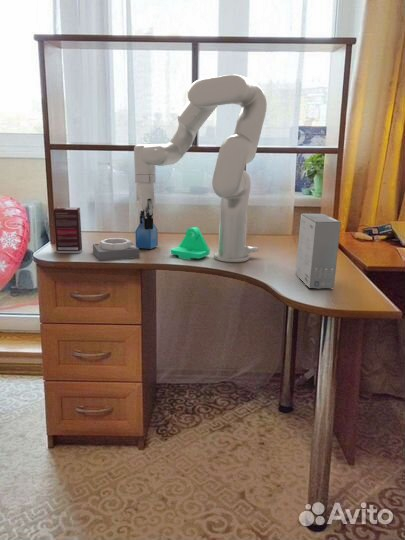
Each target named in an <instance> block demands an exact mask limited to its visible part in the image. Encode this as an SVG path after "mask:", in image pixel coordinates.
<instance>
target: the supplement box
mask: <svg viewBox="0 0 405 540" xmlns="http://www.w3.org/2000/svg"><path fill="white" fill-rule="evenodd" d="M52 210H53V223H54V236H55V252H56V254H81V252H82V251H83V242H82V241H83V240H82V222H81V221H82V220H81V208H80V207H61V206H60V207H55V208H53V209H52Z"/></svg>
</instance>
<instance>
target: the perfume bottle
mask: <svg viewBox="0 0 405 540" xmlns="http://www.w3.org/2000/svg"><path fill="white" fill-rule="evenodd" d="M144 219H145V214H144V215H142V221H143V223H142V224H140V223H139V224H138V226H137V228H136V230H134V231H135V246H136V247H137V248H138V249H150V250H151V249H154V248H156V247H157V246H159V241H158V240H159V238H158V237H159V236H158V233H159V231H158V230H159V229H158V228H157V227H156V225H155V224H154V222H153V229H150V228H149V229H147V230H146V229H145V228H144Z"/></svg>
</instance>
